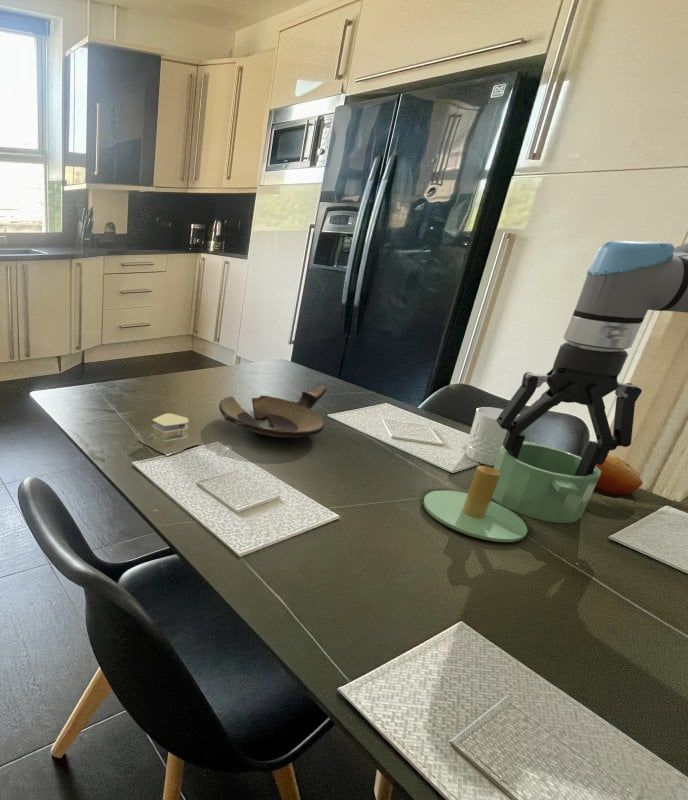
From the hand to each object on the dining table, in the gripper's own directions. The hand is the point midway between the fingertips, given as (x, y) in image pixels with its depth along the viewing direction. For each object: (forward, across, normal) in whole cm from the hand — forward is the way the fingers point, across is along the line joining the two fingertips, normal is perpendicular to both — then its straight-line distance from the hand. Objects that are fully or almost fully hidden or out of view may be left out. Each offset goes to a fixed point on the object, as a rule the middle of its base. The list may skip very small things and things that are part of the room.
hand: (543, 472), depth 83 cm
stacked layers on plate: (+6, -64, -6) cm, 65 cm away
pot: (+6, 0, 0) cm, 6 cm away
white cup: (+6, -3, +16) cm, 17 cm away
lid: (+5, -11, -11) cm, 16 cm away
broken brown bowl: (+6, -43, +12) cm, 45 cm away
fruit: (+6, +13, +10) cm, 18 cm away
